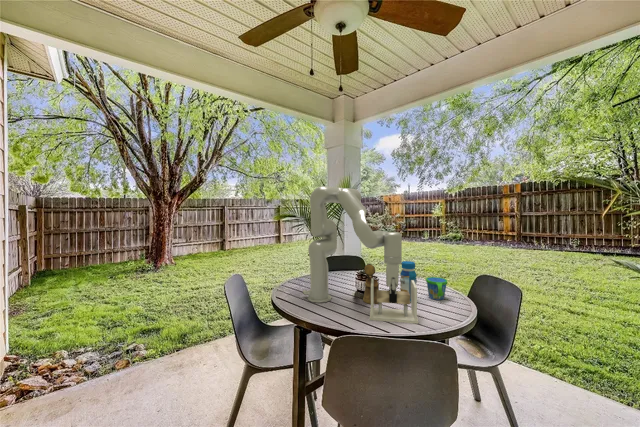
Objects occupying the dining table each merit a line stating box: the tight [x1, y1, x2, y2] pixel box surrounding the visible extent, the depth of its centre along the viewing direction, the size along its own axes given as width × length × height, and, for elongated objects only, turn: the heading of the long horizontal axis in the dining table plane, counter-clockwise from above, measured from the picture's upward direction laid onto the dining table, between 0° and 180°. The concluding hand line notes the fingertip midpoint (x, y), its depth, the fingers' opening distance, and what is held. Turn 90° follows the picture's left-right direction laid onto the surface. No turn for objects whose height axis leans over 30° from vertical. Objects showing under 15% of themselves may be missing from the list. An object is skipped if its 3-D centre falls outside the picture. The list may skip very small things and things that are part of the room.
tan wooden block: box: [377, 289, 411, 305], centre depth 125 cm, size 14×5×4 cm, turn 78°
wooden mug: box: [362, 263, 380, 305], centre depth 148 cm, size 9×14×18 cm, turn 179°
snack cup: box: [425, 276, 449, 301], centre depth 150 cm, size 16×10×10 cm
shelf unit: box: [369, 278, 419, 325], centre depth 125 cm, size 20×12×15 cm, turn 78°
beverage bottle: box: [399, 260, 418, 303], centre depth 147 cm, size 8×8×20 cm
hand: (392, 300), depth 125 cm, fingers closed on tan wooden block, 4 cm apart
